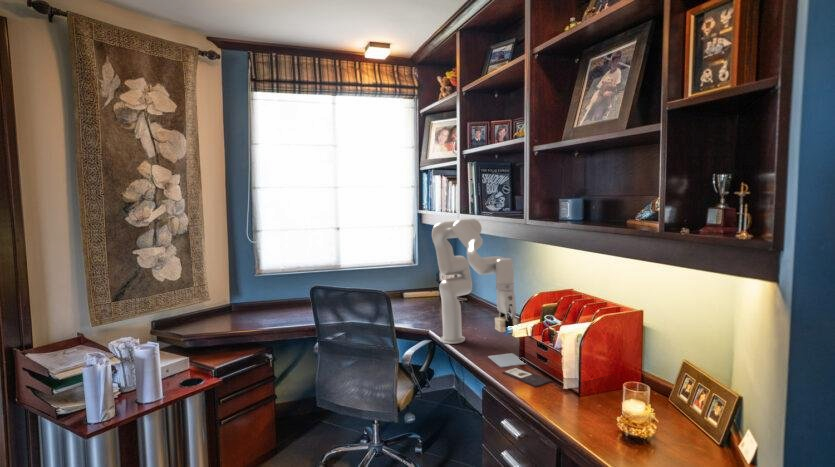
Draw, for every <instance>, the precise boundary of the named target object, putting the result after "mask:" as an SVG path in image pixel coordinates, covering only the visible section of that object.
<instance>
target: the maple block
mask: <svg viewBox="0 0 835 467" xmlns="http://www.w3.org/2000/svg"><path fill="white" fill-rule="evenodd" d="M509 316H510V315H508V317H509ZM505 321H506V317H499V316H497V317H494V330H496V331H498V332H500V333H505V332H506V333H507V332H508V331H506V324H505ZM514 325H517V326H518V318H517V317H515V316H514V318H513V326H514Z"/></svg>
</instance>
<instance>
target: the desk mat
mask: <svg viewBox="0 0 835 467" xmlns="http://www.w3.org/2000/svg"><path fill="white" fill-rule="evenodd" d="M487 358H488V359H490V360H491V361H492V362H494V364H496V365H497V366H499V367H500V368H508V367H516V366H517V367H518V366H524V365H527V364H526V363H527V362H526V363H524V362H523V361H524V360H523V361H521V360H520V359H521V358H520V357H519V356H517V355H516V354H515V353H514V352H511V353H502V354H495V355H487ZM519 358H520V359H519Z"/></svg>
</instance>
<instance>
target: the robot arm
mask: <svg viewBox="0 0 835 467" xmlns="http://www.w3.org/2000/svg"><path fill="white" fill-rule="evenodd" d="M481 233H482V223H480V221H479V220H477V219H475V218H466V219H465V218H464V219H458V220H455V221H454V220H452V221H451V220H450V221H441V222H438V223H435V225H434V226H433V227H432V230H431V239H432V240H431V241H432V244H434V248H435V253H436V258H437V266H438V270H439V273H440V274H441V276H445V277H448V276H454V275H455V277H448V278H446V279H443V280H441V282H440V283H439V285H438V286H439V287H438V290H439V295H440V298H441V317H442V320H441V321H442V336H440V338H439V341H440V342H441V343H443V344H447V345H452V344H453V345H454V344H456V345H457V344H461V343H463V342H465V341H466V337H465V336H463V334H462V332H463V331H462V328H463V327H462V306H461V302H460V300H459V299H458V297H462V296H466V295H469V294H470V293H471V292H472V290H473V280H472V276H471V269H470V267H471V268H472V269H473V271H474V272H476V274H478V275H479V276H480V275H481V276H485V275H493V274H495V287H496V288H495V289H496V309H497V311H498V317H506V321H505V324H506V327H508V326H513V318H514V317H515V316H516V313H517V305H516V304H517V303H516V296H515V280H514V279H515V278H514V277H515V275H514V273H515V272H514V261H513V259H512V258H509V257H502V256H500V255H499V256H497V255H493V256H486V257H485V256H483V257H481V255H480V254H479V253H478V252H477V251H478V250H479V249H480V248H481V247H482V245H483V243H484V240H483V238H482V237H481V235H480V234H481ZM448 239H458V240H459V242H460V243H461V244H462V245H463V246H464V247H465V248H466V257H465V256H464V255H455V254H454V249H453V246H452V244H451V243H450V242H449V240H448ZM456 276H457V277H456ZM508 316H509V317H508ZM506 331H507V330H506ZM507 332H508V331H507Z"/></svg>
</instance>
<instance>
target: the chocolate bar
mask: <svg viewBox="0 0 835 467" xmlns="http://www.w3.org/2000/svg"><path fill="white" fill-rule="evenodd" d="M501 374H503V375H505V376H506V377H507V376H508V377H510V378H513V379H515V380H517V381H519V382H521V383H523V384H527V385H529V386H531V387H534V388H535V389H537V388H539V387H542V386H545V385H548V384H550V383H553V382H554V380H552V379H549V378H547V377H545V376H542V375H539V374H537V373H534V372H532V371H528V370H527V369H524V368H521V367H519V366H517V367H515V368H512V369H508V370H505V371H502V372H501ZM552 381H553V382H552Z"/></svg>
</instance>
